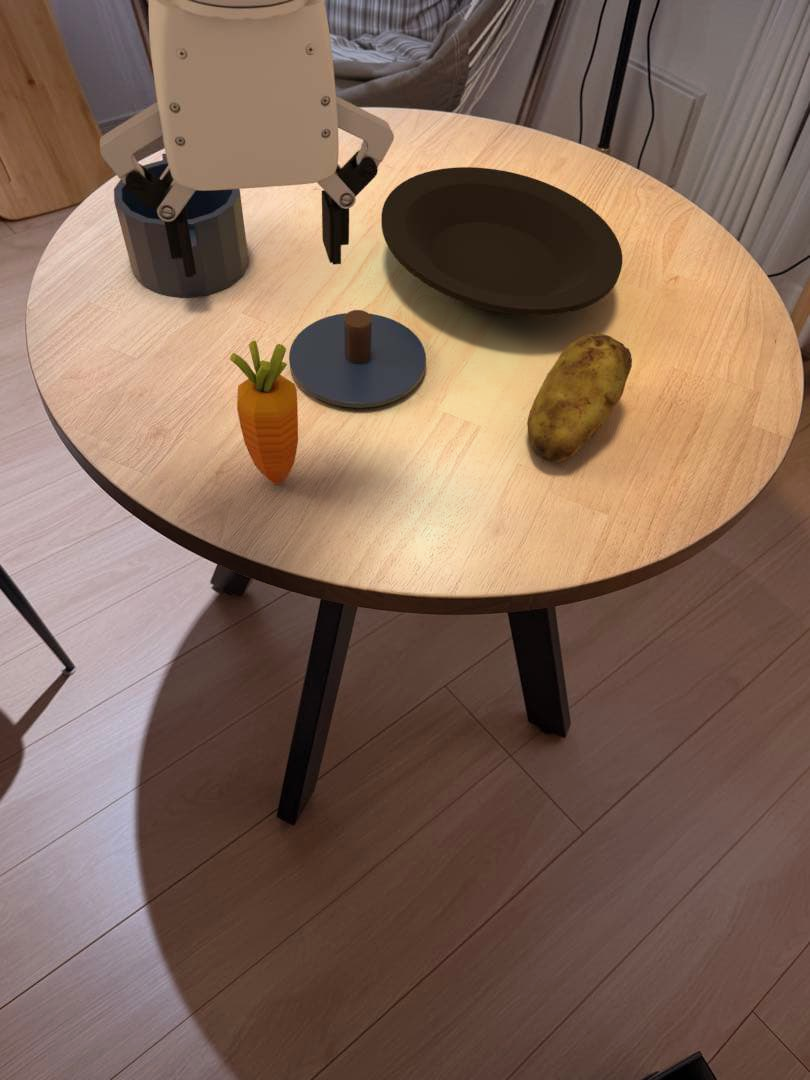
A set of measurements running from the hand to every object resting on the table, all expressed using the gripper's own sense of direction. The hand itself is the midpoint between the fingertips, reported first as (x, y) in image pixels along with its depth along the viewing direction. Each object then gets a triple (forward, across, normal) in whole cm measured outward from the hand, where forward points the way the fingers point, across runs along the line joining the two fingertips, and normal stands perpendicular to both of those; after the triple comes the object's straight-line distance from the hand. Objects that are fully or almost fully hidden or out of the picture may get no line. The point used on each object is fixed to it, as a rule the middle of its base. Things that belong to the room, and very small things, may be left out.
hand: (261, 259), depth 53 cm
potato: (+21, -28, 0) cm, 35 cm away
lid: (+20, -10, -12) cm, 26 cm away
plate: (+21, -28, -24) cm, 42 cm away
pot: (+21, +5, -33) cm, 39 cm away
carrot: (+22, 0, +1) cm, 22 cm away
